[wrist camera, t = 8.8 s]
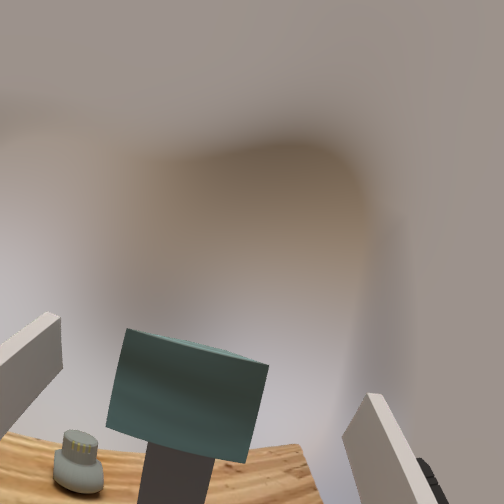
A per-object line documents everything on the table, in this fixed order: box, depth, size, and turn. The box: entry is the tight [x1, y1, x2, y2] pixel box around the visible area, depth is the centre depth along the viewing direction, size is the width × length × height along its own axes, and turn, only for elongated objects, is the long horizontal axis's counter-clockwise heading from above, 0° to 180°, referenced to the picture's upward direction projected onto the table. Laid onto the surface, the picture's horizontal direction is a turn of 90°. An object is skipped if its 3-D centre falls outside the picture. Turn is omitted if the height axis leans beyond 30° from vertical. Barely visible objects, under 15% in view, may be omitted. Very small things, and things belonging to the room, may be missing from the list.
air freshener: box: [53, 430, 104, 493], centre depth 36 cm, size 11×8×10 cm
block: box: [106, 328, 269, 464], centre depth 20 cm, size 26×4×3 cm, turn 8°
